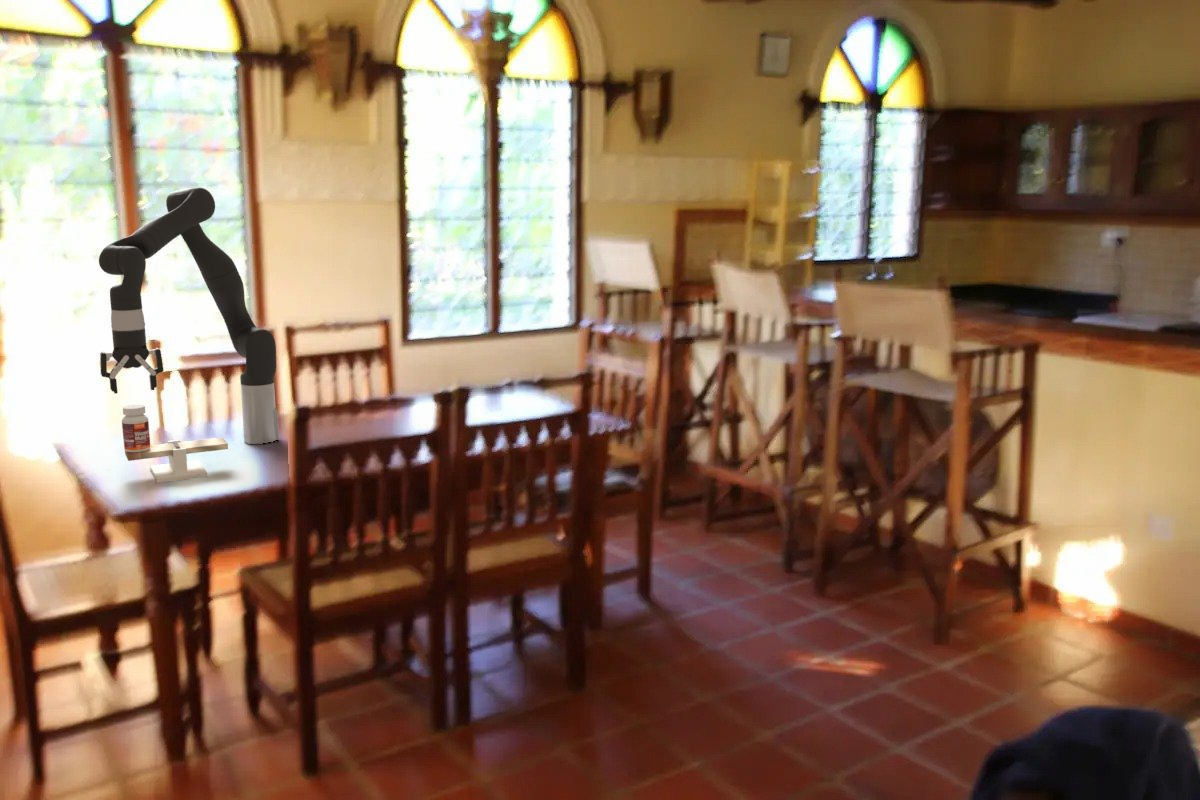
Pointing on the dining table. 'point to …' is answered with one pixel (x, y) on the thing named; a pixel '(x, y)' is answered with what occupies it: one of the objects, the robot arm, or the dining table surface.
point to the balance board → (190, 446)
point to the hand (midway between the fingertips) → (134, 391)
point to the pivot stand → (178, 467)
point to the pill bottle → (135, 429)
